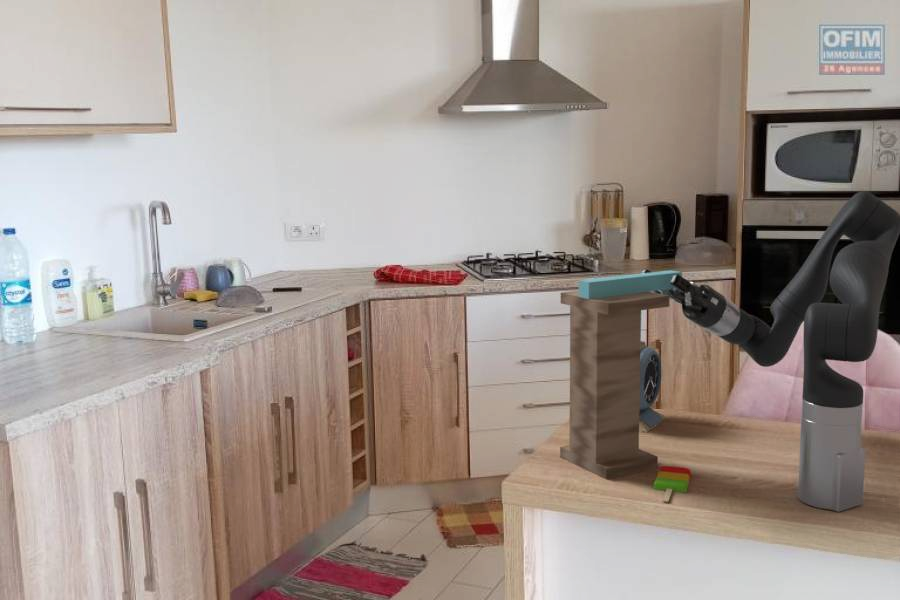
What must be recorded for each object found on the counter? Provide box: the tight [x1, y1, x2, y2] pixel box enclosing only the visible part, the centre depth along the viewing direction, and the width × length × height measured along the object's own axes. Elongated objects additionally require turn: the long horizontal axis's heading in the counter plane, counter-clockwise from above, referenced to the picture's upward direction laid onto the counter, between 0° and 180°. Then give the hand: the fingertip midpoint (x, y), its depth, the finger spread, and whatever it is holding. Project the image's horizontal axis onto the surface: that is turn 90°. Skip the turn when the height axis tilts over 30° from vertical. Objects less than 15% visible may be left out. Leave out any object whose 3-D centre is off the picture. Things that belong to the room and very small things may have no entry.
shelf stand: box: [559, 290, 671, 480], centre depth 174 cm, size 14×14×32 cm
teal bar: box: [578, 269, 683, 299], centre depth 173 cm, size 3×22×3 cm, turn 119°
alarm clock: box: [639, 340, 667, 433], centre depth 199 cm, size 14×10×18 cm
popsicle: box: [653, 465, 692, 503], centre depth 163 cm, size 6×15×2 cm, turn 160°
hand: (657, 276), depth 176 cm, fingers open, 8 cm apart
